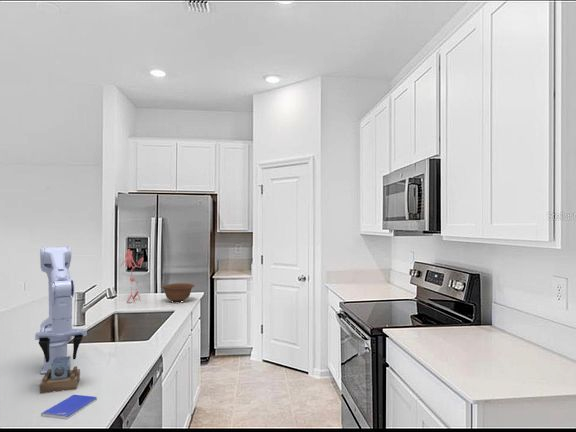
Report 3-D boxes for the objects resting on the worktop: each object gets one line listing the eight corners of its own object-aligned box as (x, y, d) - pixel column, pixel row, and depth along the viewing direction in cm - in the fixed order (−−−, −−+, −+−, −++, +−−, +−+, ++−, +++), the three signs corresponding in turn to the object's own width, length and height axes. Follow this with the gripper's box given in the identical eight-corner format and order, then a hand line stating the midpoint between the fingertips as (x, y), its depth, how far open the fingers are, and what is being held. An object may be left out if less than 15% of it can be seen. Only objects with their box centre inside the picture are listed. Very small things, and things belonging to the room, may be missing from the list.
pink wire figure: (146, 298, 288) (146, 247, 289) (131, 305, 263) (131, 250, 263) (125, 298, 289) (124, 248, 289) (107, 305, 263) (107, 250, 264)
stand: (46, 381, 137) (46, 368, 137) (79, 377, 140) (79, 365, 141) (39, 393, 128) (40, 379, 128) (76, 389, 131) (76, 375, 131)
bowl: (153, 301, 275) (153, 285, 275) (181, 297, 292) (181, 281, 292) (173, 306, 261) (173, 288, 261) (201, 301, 278) (201, 285, 278)
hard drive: (67, 415, 111) (96, 396, 123) (40, 412, 113) (72, 394, 125) (67, 421, 111) (96, 401, 123) (40, 418, 113) (72, 399, 125)
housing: (55, 372, 137) (55, 357, 137) (70, 371, 138) (70, 356, 138) (50, 381, 130) (51, 364, 130) (67, 379, 131) (67, 363, 131)
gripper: (33, 322, 128) (32, 366, 128) (85, 318, 133) (84, 361, 133) (38, 317, 135) (37, 359, 134) (87, 314, 140) (86, 354, 140)
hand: (61, 359), depth 134 cm, fingers open, 7 cm apart
